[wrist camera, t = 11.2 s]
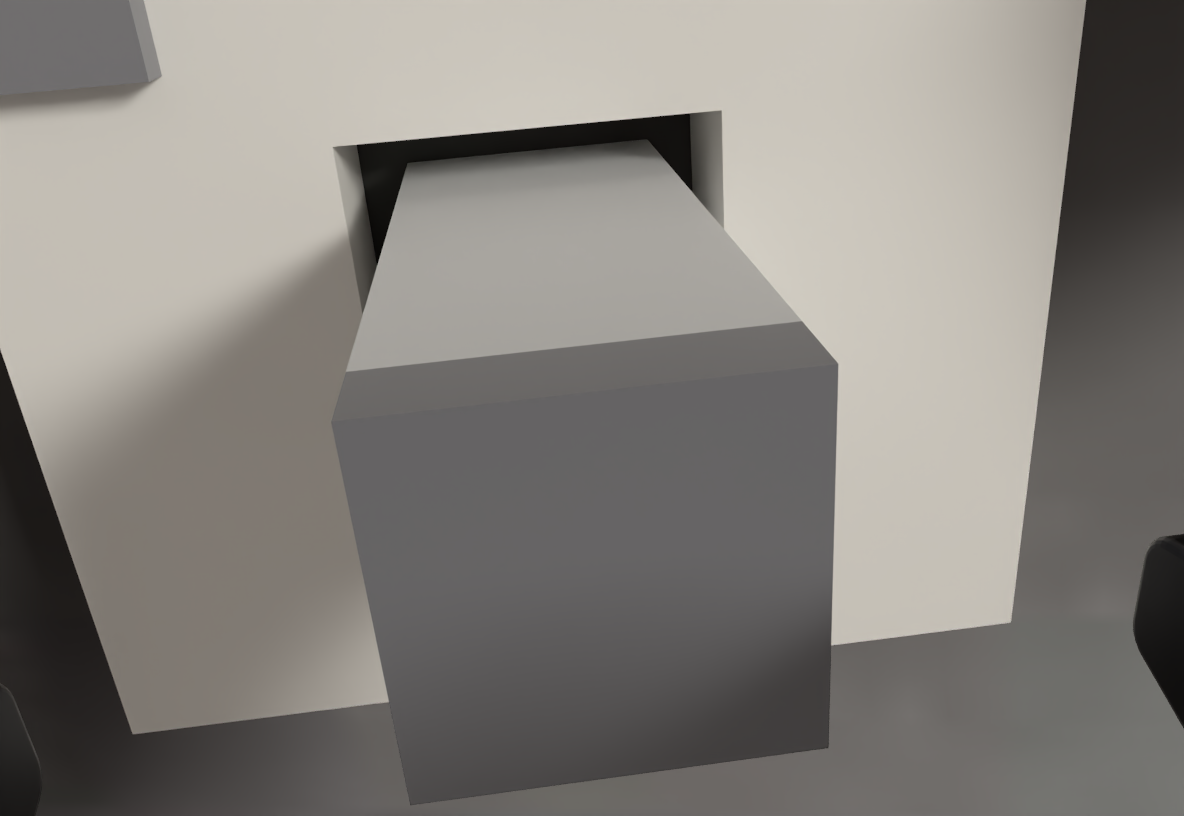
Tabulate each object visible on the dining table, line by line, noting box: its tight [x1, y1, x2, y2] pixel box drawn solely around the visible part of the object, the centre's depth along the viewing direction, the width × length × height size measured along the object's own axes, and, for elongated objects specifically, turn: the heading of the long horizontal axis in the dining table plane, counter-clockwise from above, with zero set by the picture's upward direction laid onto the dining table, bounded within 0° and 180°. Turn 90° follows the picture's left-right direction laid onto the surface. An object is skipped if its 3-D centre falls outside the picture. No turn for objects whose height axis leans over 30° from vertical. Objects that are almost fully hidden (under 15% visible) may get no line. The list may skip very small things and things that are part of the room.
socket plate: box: [0, 0, 1086, 734], centre depth 16 cm, size 14×16×3 cm
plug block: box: [331, 139, 838, 805], centre depth 13 cm, size 4×4×10 cm
